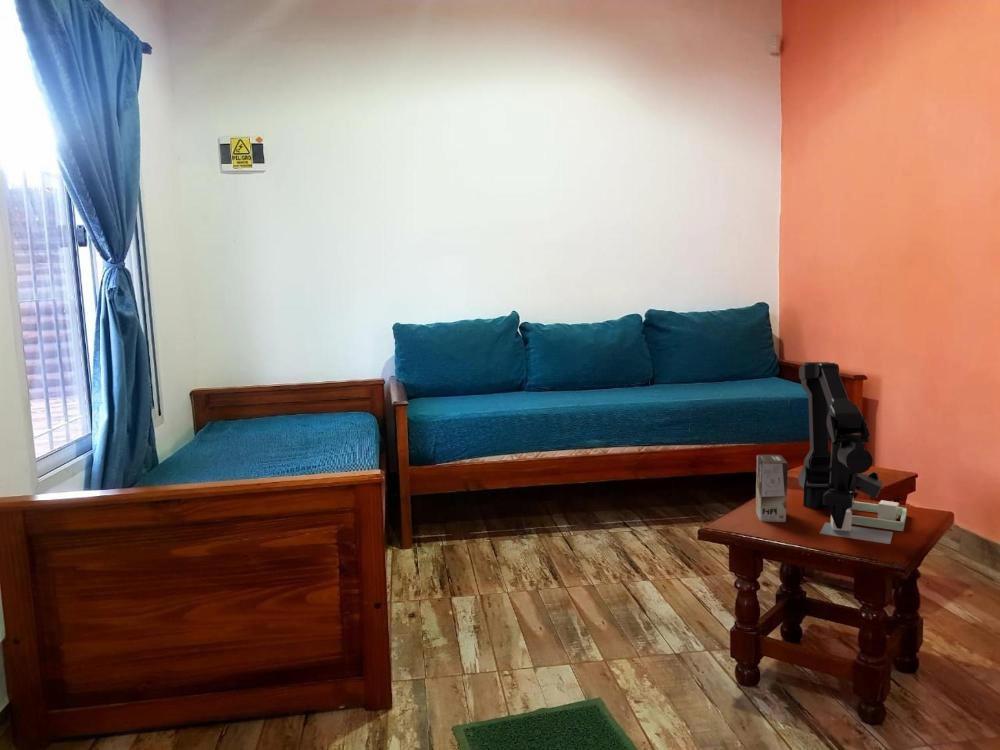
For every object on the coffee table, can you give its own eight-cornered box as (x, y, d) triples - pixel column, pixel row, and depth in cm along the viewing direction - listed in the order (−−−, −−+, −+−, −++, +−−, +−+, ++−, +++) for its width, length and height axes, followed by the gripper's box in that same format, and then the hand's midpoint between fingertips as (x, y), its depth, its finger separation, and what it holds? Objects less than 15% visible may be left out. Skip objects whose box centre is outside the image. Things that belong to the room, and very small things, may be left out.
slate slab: (819, 537, 181) (819, 533, 180) (825, 526, 188) (825, 522, 188) (889, 548, 173) (890, 543, 173) (892, 536, 180) (893, 532, 180)
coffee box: (786, 525, 189) (789, 463, 187) (760, 524, 190) (762, 462, 188) (779, 514, 198) (781, 454, 196) (754, 513, 199) (755, 453, 197)
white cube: (832, 529, 181) (833, 511, 180) (830, 524, 185) (831, 506, 184) (851, 530, 180) (851, 512, 179) (848, 525, 183) (849, 507, 183)
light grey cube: (877, 519, 191) (878, 503, 190) (880, 516, 193) (881, 500, 193) (895, 522, 188) (896, 506, 188) (897, 518, 191) (898, 502, 190)
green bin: (830, 524, 189) (831, 513, 189) (837, 510, 200) (838, 499, 200) (902, 535, 181) (903, 523, 181) (906, 519, 192) (906, 508, 192)
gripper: (877, 475, 168) (874, 543, 170) (884, 457, 184) (881, 519, 186) (823, 469, 174) (820, 535, 176) (835, 452, 189) (832, 512, 191)
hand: (840, 525), depth 182 cm, fingers closed on white cube, 5 cm apart
